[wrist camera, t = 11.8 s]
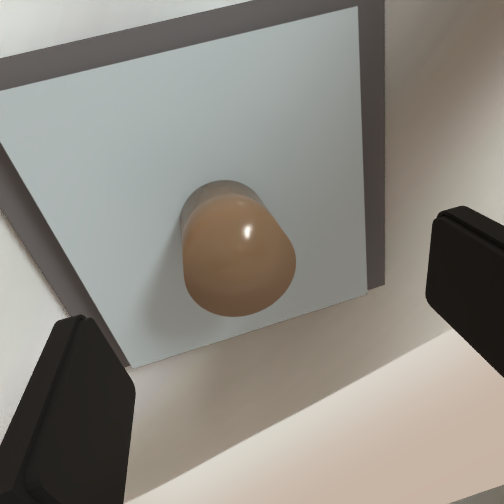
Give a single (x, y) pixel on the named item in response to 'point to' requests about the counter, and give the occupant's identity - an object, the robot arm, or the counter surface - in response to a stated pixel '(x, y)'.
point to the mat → (170, 38)
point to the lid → (204, 181)
